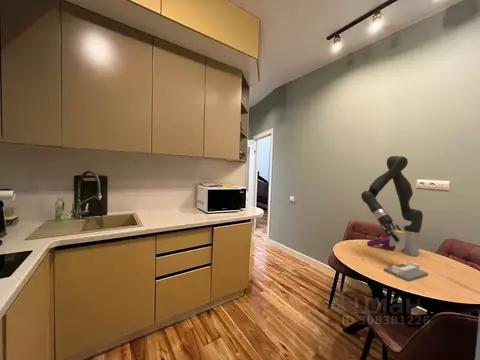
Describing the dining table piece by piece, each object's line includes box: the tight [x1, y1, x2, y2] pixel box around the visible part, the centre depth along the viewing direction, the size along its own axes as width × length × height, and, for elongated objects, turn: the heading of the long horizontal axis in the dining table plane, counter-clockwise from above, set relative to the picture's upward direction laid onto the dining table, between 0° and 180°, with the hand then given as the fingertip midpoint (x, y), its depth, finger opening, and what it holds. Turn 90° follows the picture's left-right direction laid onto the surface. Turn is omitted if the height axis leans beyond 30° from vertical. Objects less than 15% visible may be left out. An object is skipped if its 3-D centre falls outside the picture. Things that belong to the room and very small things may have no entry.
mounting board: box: [383, 261, 429, 282], centre depth 126 cm, size 20×13×5 cm, turn 116°
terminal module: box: [389, 230, 406, 250], centre depth 134 cm, size 5×6×10 cm
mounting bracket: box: [366, 236, 397, 252], centre depth 171 cm, size 9×8×18 cm
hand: (400, 240), depth 132 cm, fingers closed on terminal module, 5 cm apart
